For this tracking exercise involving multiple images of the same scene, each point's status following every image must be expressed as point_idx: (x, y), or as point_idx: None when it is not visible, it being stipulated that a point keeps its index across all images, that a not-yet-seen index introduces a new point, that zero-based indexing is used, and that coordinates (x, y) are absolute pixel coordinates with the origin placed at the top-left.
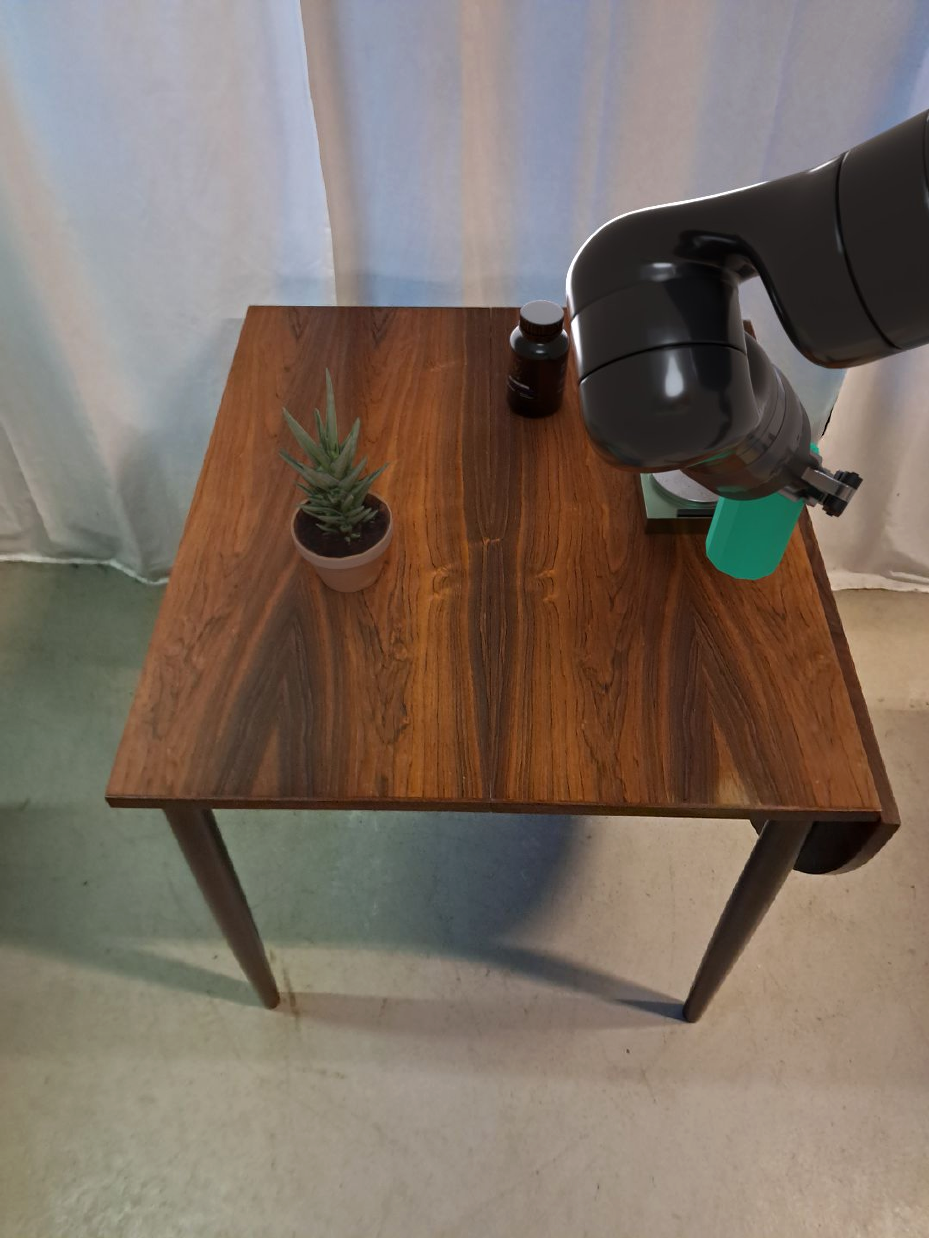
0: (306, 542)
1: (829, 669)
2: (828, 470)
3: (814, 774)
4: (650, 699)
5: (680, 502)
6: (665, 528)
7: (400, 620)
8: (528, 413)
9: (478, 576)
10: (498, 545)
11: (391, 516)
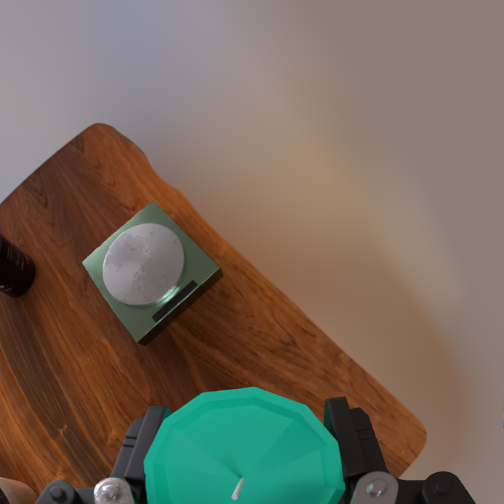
0: None
1: (354, 361)
2: (383, 489)
3: (398, 449)
4: None
5: (149, 305)
6: (155, 333)
7: None
8: (19, 294)
9: (78, 467)
10: (69, 431)
11: (3, 491)
